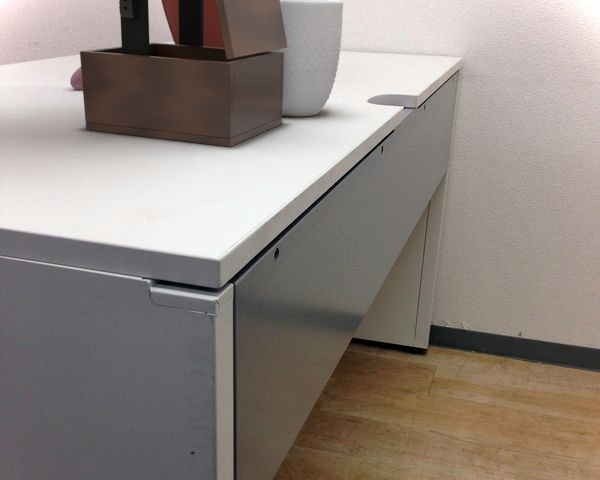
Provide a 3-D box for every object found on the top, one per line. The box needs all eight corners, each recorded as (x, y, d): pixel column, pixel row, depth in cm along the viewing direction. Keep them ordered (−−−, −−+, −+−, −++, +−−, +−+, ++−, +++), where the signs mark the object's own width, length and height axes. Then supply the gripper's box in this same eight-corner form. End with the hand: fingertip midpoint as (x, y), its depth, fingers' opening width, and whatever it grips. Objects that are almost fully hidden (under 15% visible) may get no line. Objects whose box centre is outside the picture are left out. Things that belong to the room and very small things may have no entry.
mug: (233, 100, 97) (233, -5, 92) (311, 99, 100) (316, -3, 95) (261, 120, 84) (263, -1, 79) (350, 119, 87) (357, 2, 82)
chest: (85, 129, 76) (79, 51, 72) (154, 110, 88) (152, 42, 85) (230, 146, 71) (230, 63, 68) (282, 123, 83) (284, 52, 80)
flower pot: (154, 68, 126) (150, -39, 119) (212, 60, 141) (211, -35, 135) (251, 78, 118) (252, -35, 111) (301, 68, 134) (304, -32, 127)
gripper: (185, -172, 79) (186, 40, 88) (47, -229, 59) (67, 54, 68) (247, -172, 77) (242, 45, 86) (127, -231, 57) (137, 62, 66)
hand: (165, 49), depth 77 cm, fingers open, 11 cm apart
